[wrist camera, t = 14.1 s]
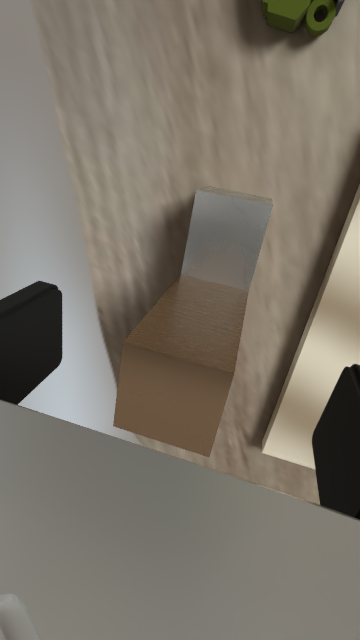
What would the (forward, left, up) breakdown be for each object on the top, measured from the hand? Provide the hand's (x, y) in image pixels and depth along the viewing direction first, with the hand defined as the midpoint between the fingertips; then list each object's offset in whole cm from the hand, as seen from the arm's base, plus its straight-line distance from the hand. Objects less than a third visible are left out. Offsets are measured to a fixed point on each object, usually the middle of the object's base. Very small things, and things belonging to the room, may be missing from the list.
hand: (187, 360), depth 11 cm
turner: (0, 0, -8) cm, 8 cm away
